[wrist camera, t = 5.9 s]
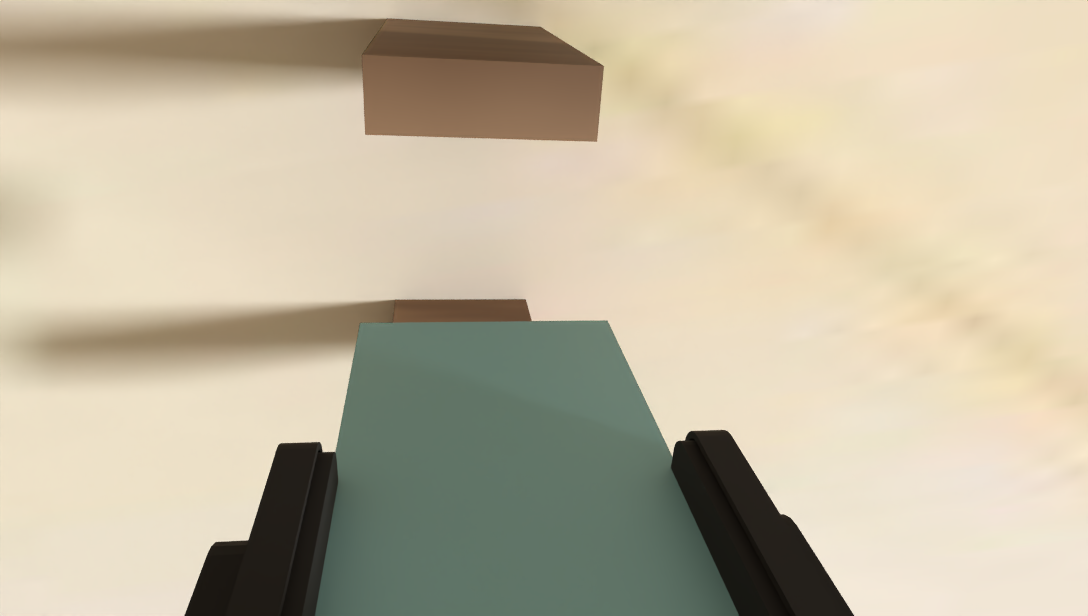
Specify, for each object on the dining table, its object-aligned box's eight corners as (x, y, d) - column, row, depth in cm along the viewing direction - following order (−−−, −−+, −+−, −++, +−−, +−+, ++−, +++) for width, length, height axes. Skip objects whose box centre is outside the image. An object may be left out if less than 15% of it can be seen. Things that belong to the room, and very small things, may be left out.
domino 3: (537, 76, 25) (596, 141, 16) (388, 70, 24) (365, 134, 16) (540, 26, 25) (603, 66, 16) (387, 18, 24) (361, 54, 15)
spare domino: (600, 386, 16) (814, 937, 7) (363, 391, 15) (269, 1014, 6) (607, 320, 15) (853, 838, 6) (360, 322, 15) (248, 913, 6)
